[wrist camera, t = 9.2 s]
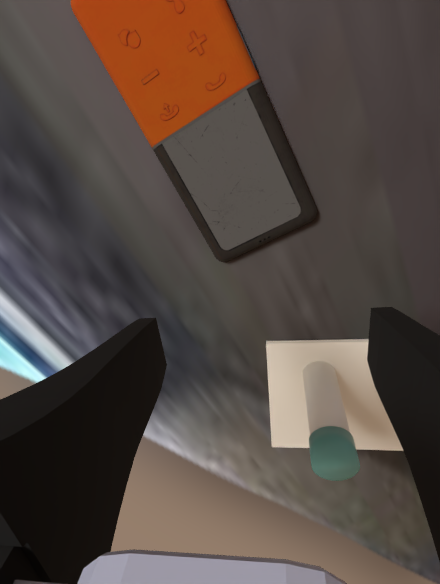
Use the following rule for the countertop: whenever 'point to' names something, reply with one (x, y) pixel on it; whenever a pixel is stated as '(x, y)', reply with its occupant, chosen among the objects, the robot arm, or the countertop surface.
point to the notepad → (353, 387)
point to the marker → (328, 425)
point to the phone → (203, 116)
